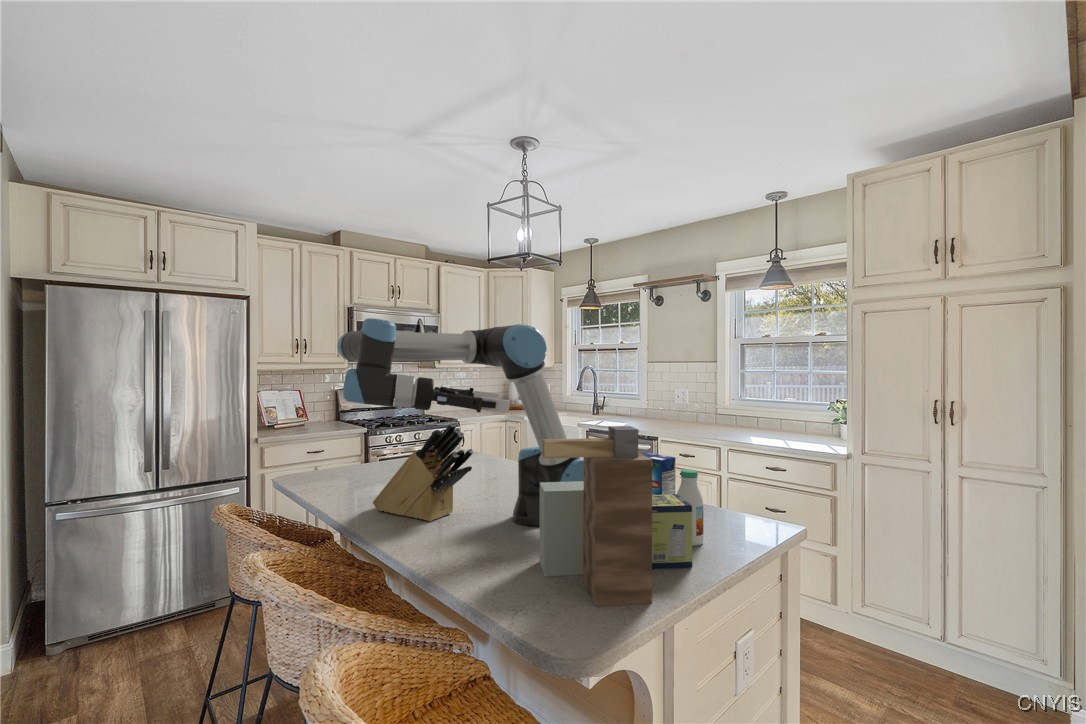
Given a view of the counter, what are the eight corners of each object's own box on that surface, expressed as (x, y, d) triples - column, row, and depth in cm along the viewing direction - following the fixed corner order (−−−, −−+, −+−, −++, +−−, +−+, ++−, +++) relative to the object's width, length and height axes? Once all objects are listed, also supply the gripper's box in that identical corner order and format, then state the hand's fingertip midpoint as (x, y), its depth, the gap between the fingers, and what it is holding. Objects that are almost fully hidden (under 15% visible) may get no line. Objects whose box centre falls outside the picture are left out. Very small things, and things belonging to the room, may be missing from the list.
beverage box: (661, 536, 148) (661, 460, 148) (632, 526, 157) (632, 454, 157) (675, 531, 153) (675, 457, 153) (646, 522, 161) (646, 452, 161)
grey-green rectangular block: (539, 561, 129) (539, 482, 129) (589, 559, 131) (590, 481, 131) (544, 576, 120) (544, 491, 120) (598, 573, 122) (598, 489, 122)
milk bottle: (688, 548, 139) (688, 474, 139) (669, 539, 145) (669, 469, 145) (709, 543, 142) (709, 471, 142) (689, 535, 149) (689, 466, 149)
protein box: (621, 554, 135) (621, 495, 135) (678, 552, 136) (678, 493, 136) (631, 570, 124) (631, 506, 124) (693, 568, 125) (693, 504, 125)
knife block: (453, 528, 155) (453, 426, 155) (371, 511, 173) (371, 419, 173) (475, 518, 165) (476, 422, 165) (396, 503, 183) (396, 416, 183)
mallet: (542, 454, 113) (542, 427, 113) (629, 452, 116) (629, 425, 116) (545, 459, 107) (546, 430, 107) (638, 457, 110) (638, 429, 110)
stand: (583, 581, 117) (583, 451, 117) (634, 579, 119) (634, 449, 119) (595, 606, 105) (596, 461, 105) (651, 603, 107) (652, 459, 107)
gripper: (411, 401, 131) (492, 410, 137) (413, 416, 107) (512, 426, 113) (415, 372, 131) (496, 382, 137) (418, 381, 107) (516, 392, 113)
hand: (503, 402), depth 125 cm, fingers open, 13 cm apart
